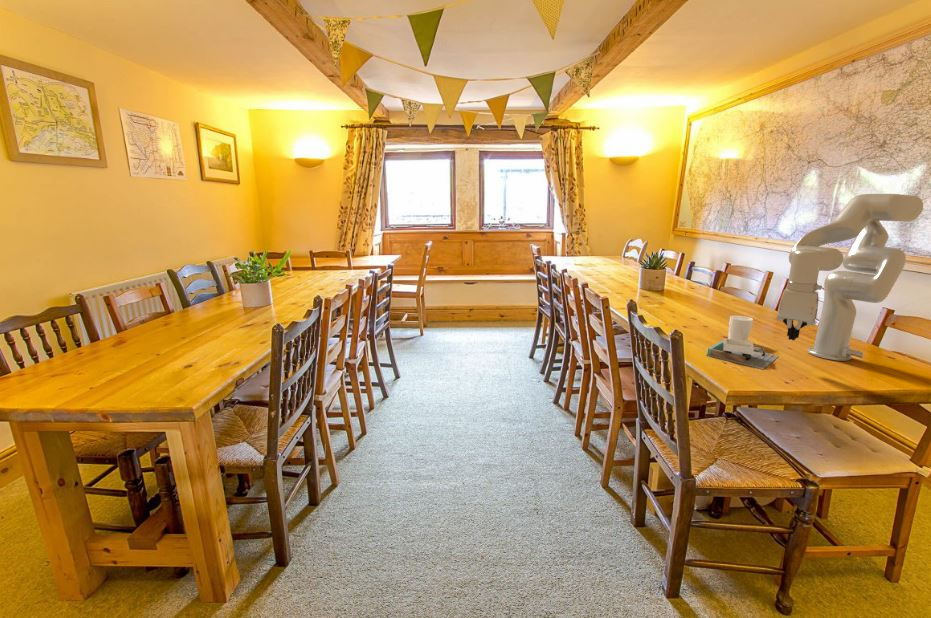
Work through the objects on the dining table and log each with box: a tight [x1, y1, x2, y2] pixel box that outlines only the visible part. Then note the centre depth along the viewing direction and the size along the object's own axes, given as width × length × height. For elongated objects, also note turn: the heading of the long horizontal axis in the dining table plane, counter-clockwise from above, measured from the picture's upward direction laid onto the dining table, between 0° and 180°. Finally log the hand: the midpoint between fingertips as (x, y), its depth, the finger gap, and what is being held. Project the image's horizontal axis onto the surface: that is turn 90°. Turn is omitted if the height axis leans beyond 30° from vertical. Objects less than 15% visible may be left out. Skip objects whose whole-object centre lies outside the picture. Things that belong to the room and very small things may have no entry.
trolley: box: [723, 337, 766, 360], centre depth 155 cm, size 13×8×5 cm, turn 60°
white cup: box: [727, 315, 754, 342], centre depth 174 cm, size 8×8×10 cm
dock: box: [706, 339, 779, 370], centre depth 158 cm, size 18×19×3 cm
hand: (792, 338), depth 147 cm, fingers closed
